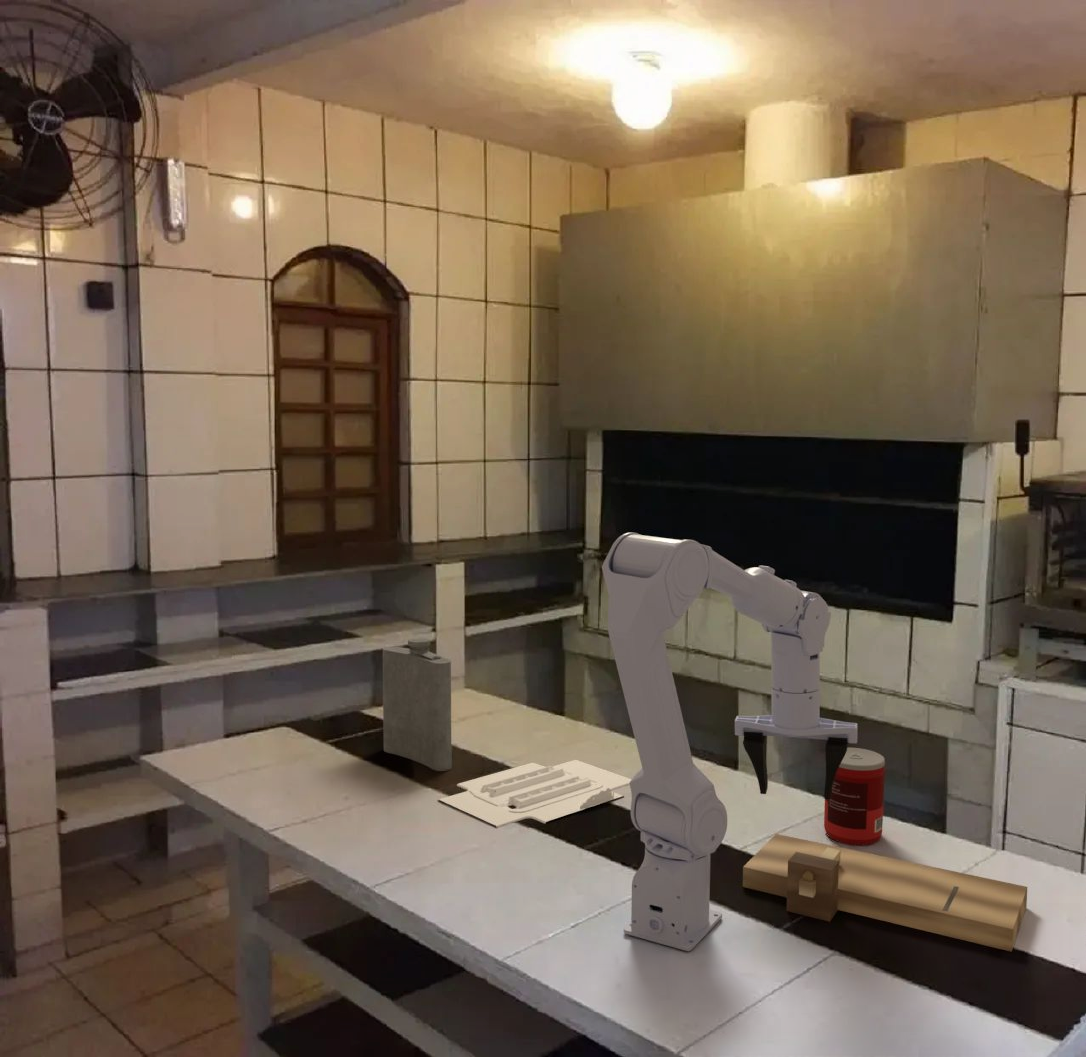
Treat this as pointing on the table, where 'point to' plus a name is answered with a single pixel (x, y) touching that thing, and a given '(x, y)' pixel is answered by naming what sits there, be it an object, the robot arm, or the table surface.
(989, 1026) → the table surface
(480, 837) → the table surface
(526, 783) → the tray
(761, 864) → the oak board
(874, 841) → the canned food
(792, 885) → the brown block with bar
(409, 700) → the hip flask
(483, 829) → the table surface
